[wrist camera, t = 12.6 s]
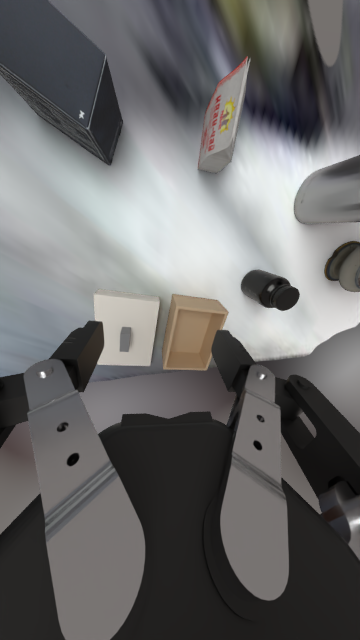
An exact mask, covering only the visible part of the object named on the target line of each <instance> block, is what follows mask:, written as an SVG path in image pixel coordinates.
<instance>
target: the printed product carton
mask: <svg viewBox="0 0 360 640" xmlns="http://www.w3.org/2000/svg"><path fill="white" fill-rule="evenodd" d="M249 62H250V60H249ZM249 62H248V65H247V57H246V58H245V60H244V61H243V62H242V63H241V64H240V65H239V66H238V67H237V68H236V69H235V70H233V71H232V72H231V73H230V74H228V75H227V76H226V77H225V78H223V79H222V80H221V81H220V82H219V83H218V85H217V88H216V90H215V92H214V94H213V96H212V99H211V101H210V103H209V105H208V107H207V110H206V112H205V118H204V126H203V133H202V141H201V148H200V156H199V163H198V169H199V170H203V171H208V172H212V173H218V172H220V171H221V170H222V169H223V168H224V167H225V166H227V165H228V164H229V163H230V162H231V160H232V155H233V150H234V145H235V140H236V136H237V131H238V126H239V121H240V116H241V111H242V106H243V102H244V97H245V92H246V78H247V72H248V67H249Z"/></svg>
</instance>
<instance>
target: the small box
mask: <svg viewBox="0 0 360 640" xmlns="http://www.w3.org/2000/svg"><path fill="white" fill-rule="evenodd" d="M0 74H1V76H2V77H3V78H4V79H5V80H6V81H7V82H8V83H9V84H10V85H11V86H12V87H13V88H14V89H15V90H16V91H17V93H18V94H19V95H20V96H21V97H22V98H23V99H24V100H25V101H26V102H27V103H28V104H29V105H30V107H31V108H32V109H33V110H34V111H35V112H36V113H37V114H38V115H39V116H41V117H42V118H43V119H45V120H46V121H48V122H49V123H50V124H52V125H53V126H55V127H56V128H57V129H59V130H60V131H61V132H62V133H64V134H66V135H67V136H69V137H70V138H71V139H73V140H74V141H76V142H77V143H78V144H80V145H81V146H82V147H84V148H85V149H87V150H88V151H89V152H91V153H92V154H94V155H95V156H96V157H98V158H99V159H101V160H102V161H104V162H105V163H107V164H108V165H110V164H111V162H112V157H113V155H114V150H115V147H116V143H117V140H118V137H119V135H120V131H121V127H122V123H123V120H122V117H121V113H120V109H119V105H118V101H117V98H116V93H115V90H114V86H113V82H112V78H111V74H110V70H109V66H108V62H107V57H106V55H105V53H104V52H103V51H102V50H100V49H99V48H98V47H97V46H96V45H95V44H94V43H93V42H92V41H91V40H90V39H89V38H88V37H87V36H86V35H85V34H84V33H83V32H81V31H80V30H79V29H78V28H77V27H76V26H75V25H74V24H73V23H72V22H71V21H70V20H69V19H68V18H67V17H65V16H64V15H63V14H62V13H61V12H60V11H59V10H58V9H57V8H56V7H55V6H54V5H53V4H52V3H51V2H50V1H49V0H0Z"/></svg>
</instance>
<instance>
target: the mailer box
mask: <svg viewBox="0 0 360 640" xmlns="http://www.w3.org/2000/svg"><path fill="white" fill-rule="evenodd" d="M228 313H229V312H228V311H227V310H226V309H225V308H224V307H223V306H222V305H221V303H220V302H219V301H218V300H212V299H205V298H198V297H191V296H183V295H176V294H172V300H171V305H170V310H169V316H168V321H167V327H166V332H165V338H164V343H163V348H162V358H163V369H178V370H207V368H208V366H209V363H210V360H211V358H212V353H211V347H212V344H213V340H214V337H215V334H216V331H217V330H222V328H223V326H224V323H225V320H226V318H227V315H228Z"/></svg>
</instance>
